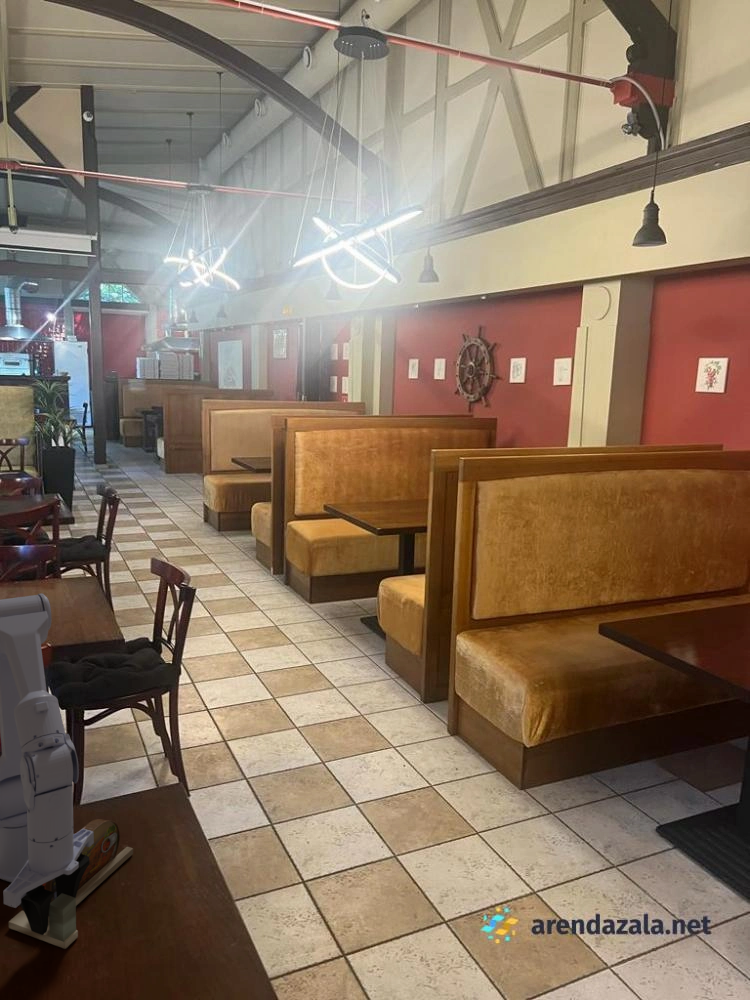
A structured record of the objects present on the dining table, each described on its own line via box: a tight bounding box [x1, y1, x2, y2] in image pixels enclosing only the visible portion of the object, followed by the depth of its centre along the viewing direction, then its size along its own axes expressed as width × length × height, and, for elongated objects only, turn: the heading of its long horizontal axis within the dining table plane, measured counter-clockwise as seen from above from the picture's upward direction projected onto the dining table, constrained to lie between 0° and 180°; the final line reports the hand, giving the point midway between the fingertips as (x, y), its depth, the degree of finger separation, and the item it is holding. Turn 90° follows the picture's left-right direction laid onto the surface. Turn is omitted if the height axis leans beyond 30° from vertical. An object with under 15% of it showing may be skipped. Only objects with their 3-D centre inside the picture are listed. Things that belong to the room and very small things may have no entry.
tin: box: [42, 818, 121, 902], centre depth 111 cm, size 15×3×8 cm, turn 161°
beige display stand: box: [8, 846, 134, 950], centre depth 109 cm, size 10×20×6 cm, turn 161°
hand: (52, 918), depth 101 cm, fingers open, 4 cm apart
